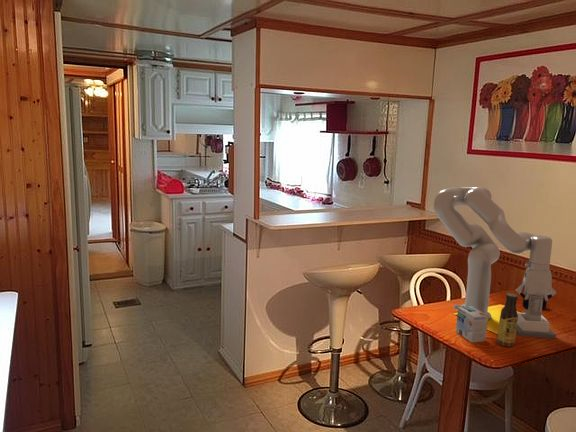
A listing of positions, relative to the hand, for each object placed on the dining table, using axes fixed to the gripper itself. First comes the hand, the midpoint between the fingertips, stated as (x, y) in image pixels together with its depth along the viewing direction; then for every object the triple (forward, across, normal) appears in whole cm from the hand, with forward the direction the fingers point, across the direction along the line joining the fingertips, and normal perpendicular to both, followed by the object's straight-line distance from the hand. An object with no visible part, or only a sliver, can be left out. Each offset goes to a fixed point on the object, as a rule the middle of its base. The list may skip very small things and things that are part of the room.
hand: (533, 308), depth 206 cm
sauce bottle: (+10, -15, -16) cm, 24 cm away
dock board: (+9, 0, 0) cm, 9 cm away
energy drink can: (+6, 0, 0) cm, 6 cm away
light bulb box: (+10, -27, -11) cm, 31 cm away
